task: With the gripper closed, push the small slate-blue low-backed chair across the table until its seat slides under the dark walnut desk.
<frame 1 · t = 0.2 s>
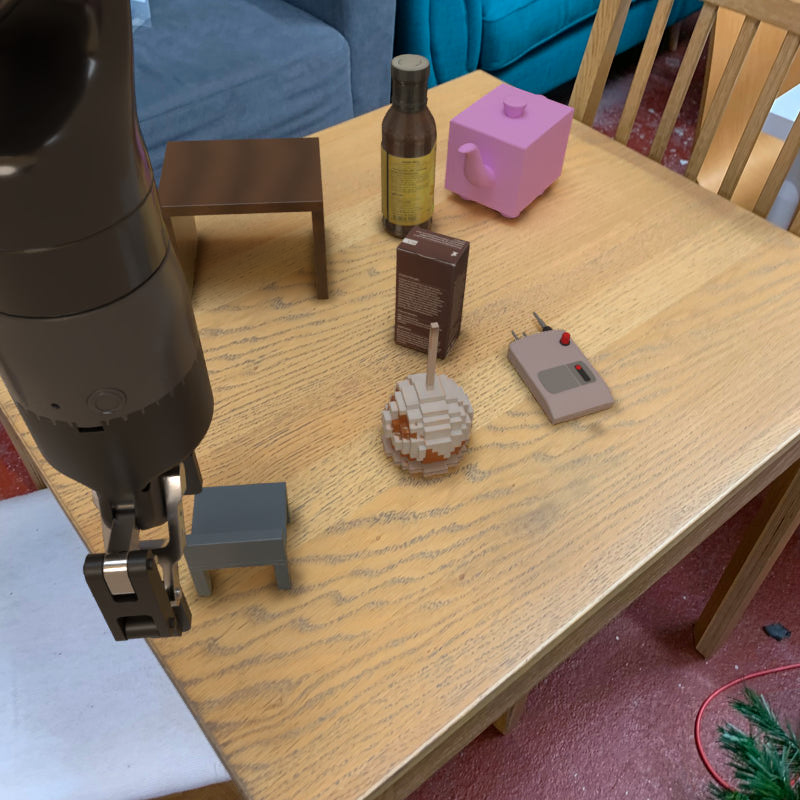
hand: (178, 554, 42), 18 cm above the table, tool pointing down, fingers open, 8 cm apart
sauce bottle: (406, 226, 93), on the table
box: (426, 339, 80), on the table
desk: (255, 267, 87), on the table
chair: (246, 553, 62), on the table
candy apple: (424, 446, 71), on the table
remote control: (552, 375, 77), on the table
teapot: (495, 199, 98), on the table
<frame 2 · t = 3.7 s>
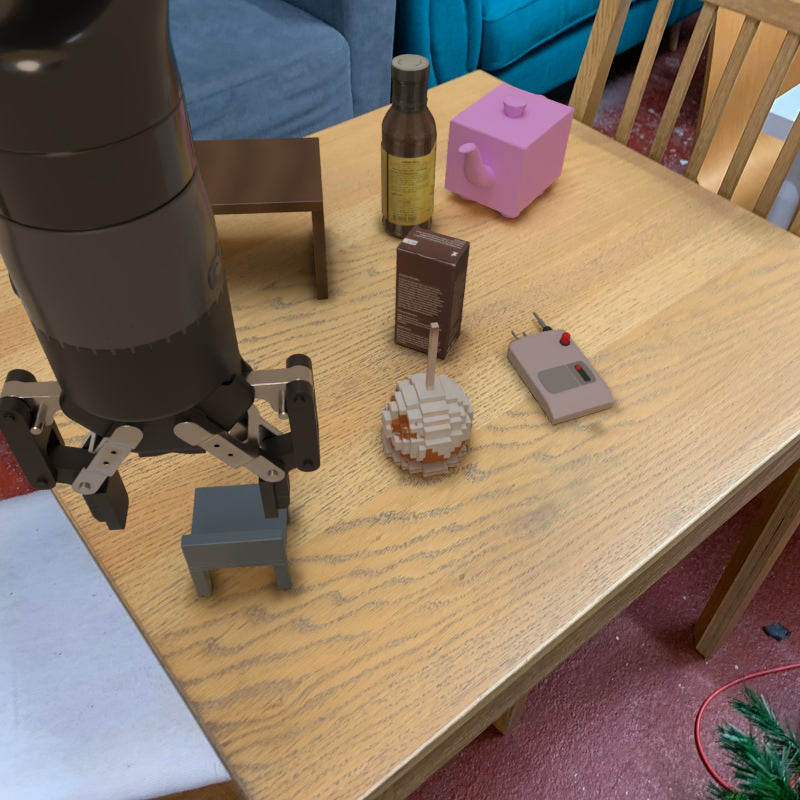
hand: (196, 510, 42), 20 cm above the table, tool pointing down, fingers open, 7 cm apart
nothing on the table moved.
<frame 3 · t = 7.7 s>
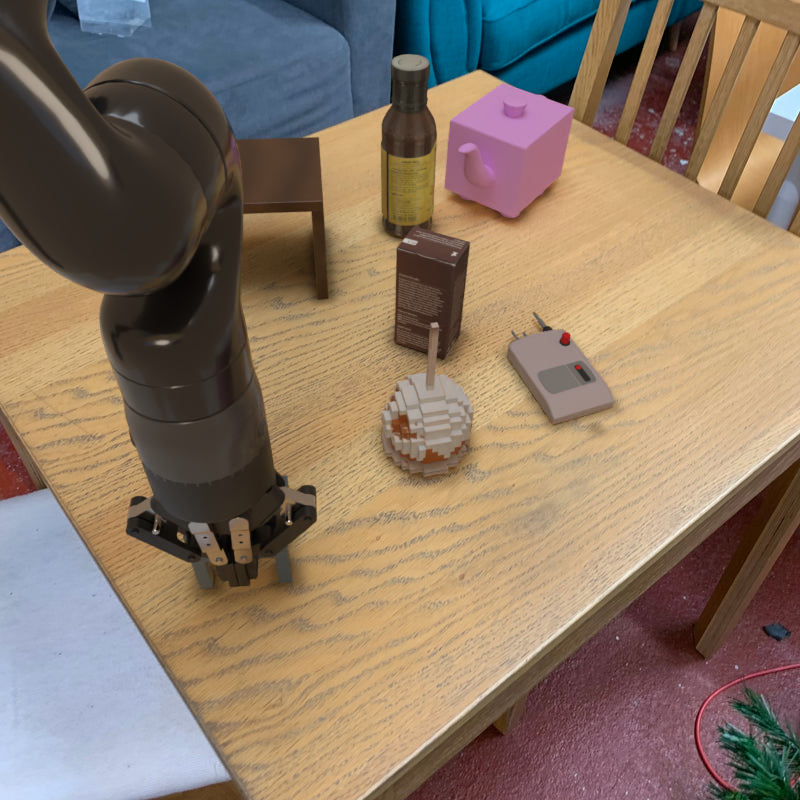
hand: (240, 575, 57), 4 cm above the table, tool pointing down, fingers closed
chair: (247, 546, 63), on the table, touching gripper
everything else where it was.
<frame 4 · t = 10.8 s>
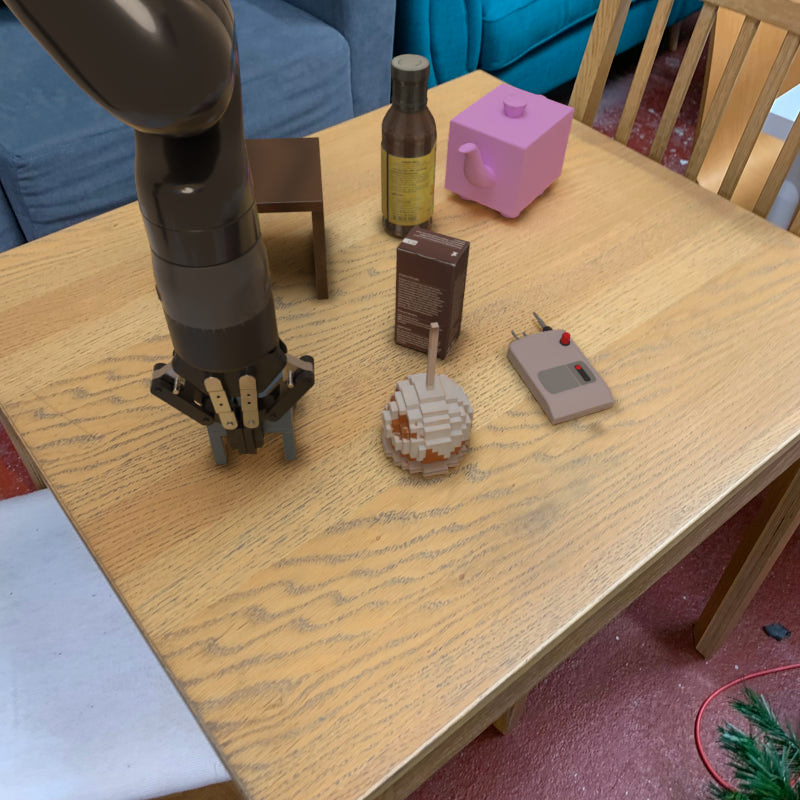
hand: (248, 446, 65), 4 cm above the table, tool pointing down, fingers closed
chair: (257, 431, 71), on the table, touching gripper
everything else where it was.
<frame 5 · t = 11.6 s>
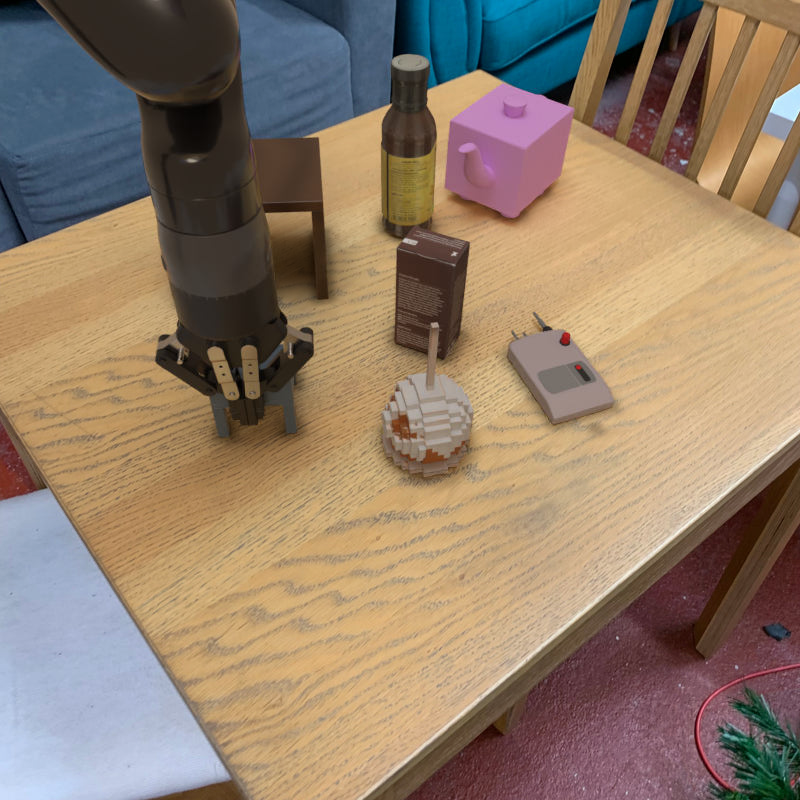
hand: (249, 418, 67), 4 cm above the table, tool pointing down, fingers closed
chair: (259, 406, 73), on the table, touching gripper
everything else where it was.
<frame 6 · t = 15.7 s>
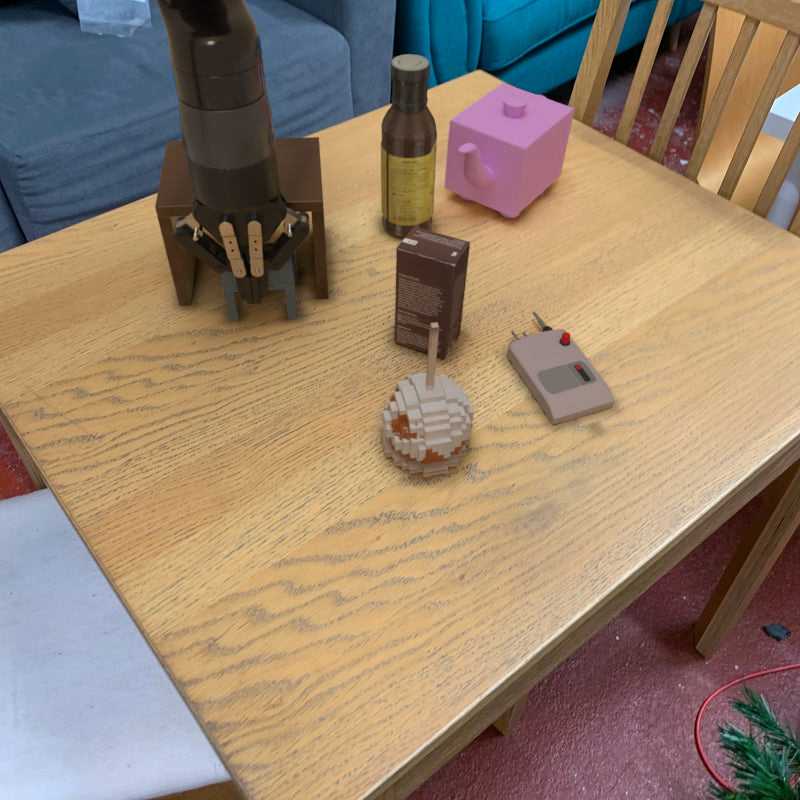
hand: (254, 299, 77), 4 cm above the table, tool pointing down, fingers closed
chair: (264, 297, 83), on the table, touching gripper
everything else where it was.
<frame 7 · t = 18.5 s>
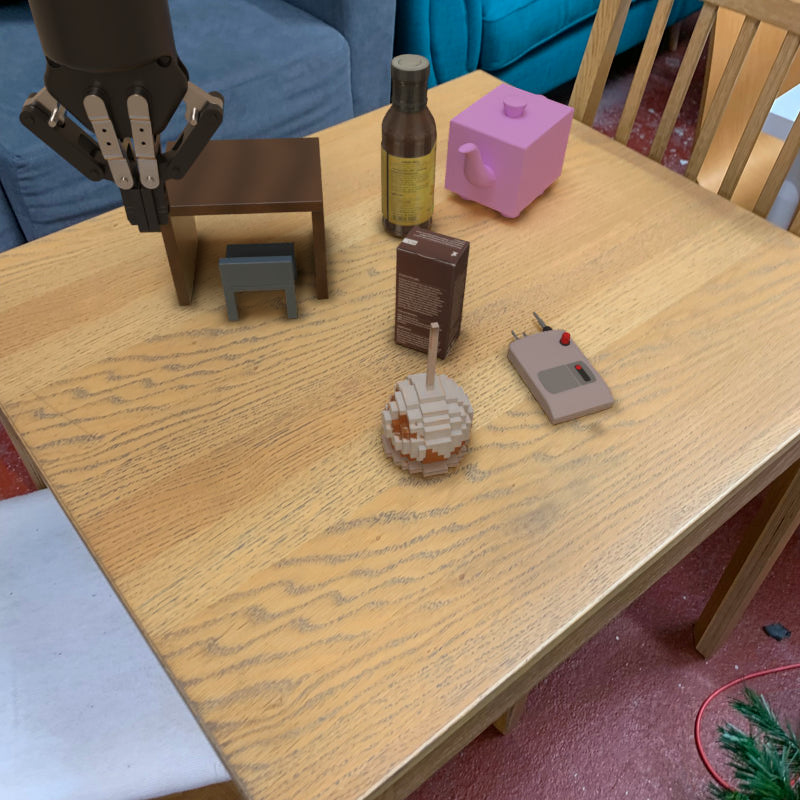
hand: (151, 226, 55), 22 cm above the table, tool pointing down, fingers closed
chair: (264, 297, 83), on the table
everything else where it was.
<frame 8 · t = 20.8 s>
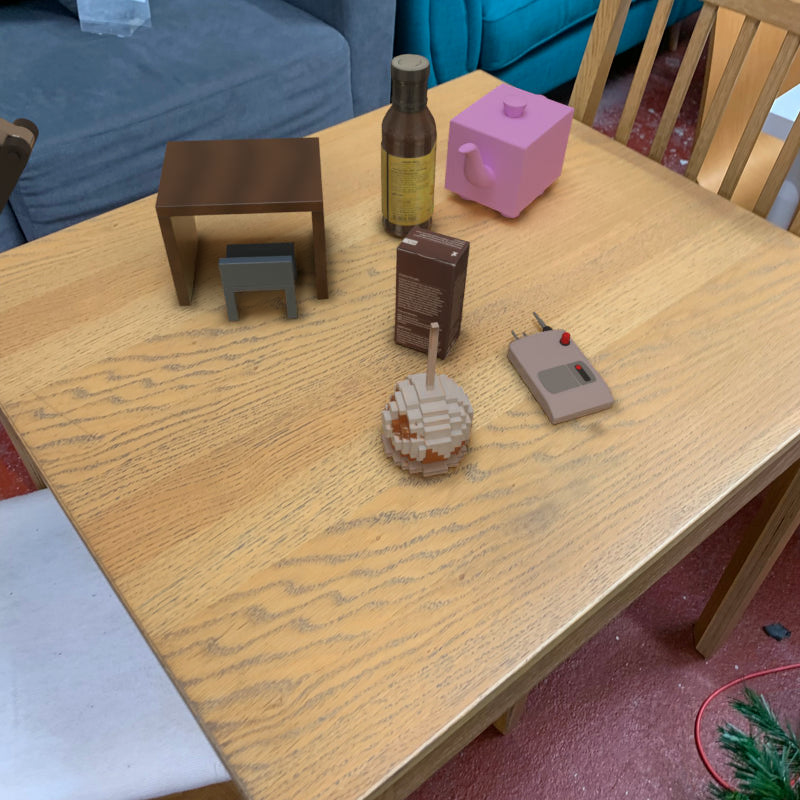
nothing on the table moved.
at the end: chair 1.6 cm from the target spot on the desk, point 0.0 cm above the desk's base; chair tilted 0° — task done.
